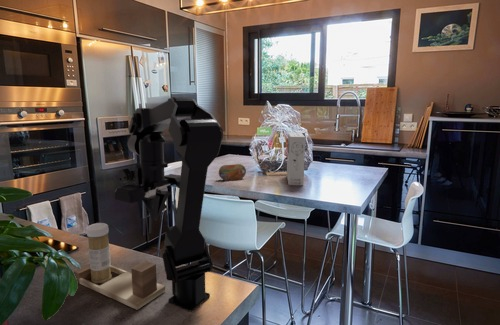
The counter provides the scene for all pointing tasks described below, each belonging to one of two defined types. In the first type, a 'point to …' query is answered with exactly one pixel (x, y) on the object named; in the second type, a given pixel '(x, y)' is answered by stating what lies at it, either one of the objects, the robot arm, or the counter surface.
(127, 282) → the wooden stand
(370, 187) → the counter surface
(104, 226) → the sprinkles bottle
